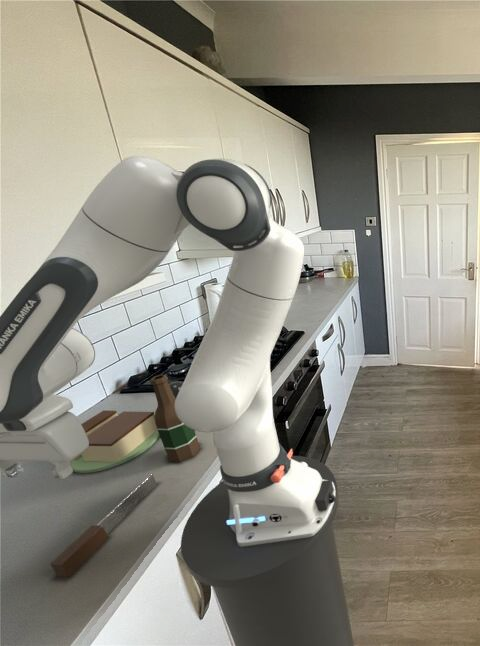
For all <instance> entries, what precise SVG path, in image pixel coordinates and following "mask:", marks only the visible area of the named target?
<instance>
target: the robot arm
mask: <svg viewBox="0 0 480 646" xmlns="http://www.w3.org/2000/svg"><path fill="white" fill-rule="evenodd" d="M271 206H272V194H271V190H270V187H269V185H268V183H267V180H265V178H264V177H263V176H262V174H260V173H259V172H258V171H257V170H256V169H255V168H253V167H252V166H250V165H249V164H248V165H247V164H245V163H244V162H240V161H238V160H235V159H232V158H223V157H221V158H211V159H204V160H199V161H197V162H195V163H193V164H191V165H190V166H188V167H187V169H185V170H184V171H183V172H181V171H180V170H178V169H175V168H174V167H172V166H171V165H169V164H167V163H165V162H163V161H161V160H158V159H156V158H153V157H150V156H144V155H132V156H127V157H125V158H123V159H122V160H121V161H119V162H118V163H117V164H116V165H115V166H114V167H113V168H112V169H111V170H110V171H108V172H107V174H105V176H103V178H102V179H101V180H100V181H99V183H97V185H96V186H95V187H94V189H93V190H92V191H91V193H90V194H89V195H88V196H87V198H86V200H85V201H84V203H83V204H82V206H81V208H80V209H79V211H78V212H77V214H76V215H75V217H74V219H73V220H72V221H71V223H70V225H69V226H68V228H67V230H66V231H65V232H64V234H63V235H62V237H61V238H60V240H59V241H58V243H57V244H56V246H55V247H54V248H53V250H52V251H51V252H50V254H48V256H47V257H46V259H45V260H44V261H43V262H42V264H41V265H40V267H39V268H38V269H37V270H36V271H35V273H34V274H33V275H32V276H31V278H29V280H28V281H27V282H26V283H25V284H24V286H23V287H22V288H21V289H20V290H19V292H18V293H17V294H16V295H15V297H13V299H12V300H11V301H10V303H9V305H8V306H7V307H6V308H5V309H4V311H3V312H2V313H1V314H0V472H1V473H2V474H3V476H4V477H5V478H17V477H19V476H20V475H21V474H23V473H24V472H25V468H24V467H23V465H22V463H19V462H50V463H51V465H54V466H55V468H54V469H53V470H52V471H51V474H52V475H53V476H54V478H55V479H63V480H64V479H67V478H68V477H69V476H70V475H72V474H73V472H74V471H73V470H72V468H71V466H70V464H71V460H73V459H74V458H76V457H77V456H79V455H80V454H81V453H83V452H84V451H85V450H86V449H87V448H88V445H89V440H88V438H87V435H86V433H85V431H84V428H83V426H82V423H81V421H80V419H79V418H78V416H77V415H76V414H74V413H73V412H71V410H72V409H73V408H74V404H73V402H72V400H71V399H70V398H68V397H66V396H63V395H58V394H56V393H57V392H59V390H61V389H63V388H64V387H66V386H67V385H68V384H70V382H72V381H74V380H75V379H76V378H78V377H79V376H80V375H82V374H83V373H85V372H86V371H87V370H88V369H89V368H90V367H91V366H92V365H93V363H94V362H95V358H96V349H95V347H94V345H93V343H92V341H91V339H90V338H89V337H88V336H87V335H85V334H84V333H83V332H81V331H80V330H78V329H76V328H74V326H75V325H76V324H77V323H79V321H80V320H81V319H82V318H83V317H85V315H87V314H89V312H91V311H92V310H93V309H96V308H97V307H98V306H100V305H101V304H103V303H104V302H106V301H108V300H110V299H111V298H113V297H116V296H117V295H119V294H121V293H123V292H124V291H126V290H129V289H130V288H132V287H134V286H135V285H138V284H140V283H141V282H143V281H144V280H145V279H146V278H147V277H148V276H150V274H152V273H153V272H154V271H155V270H156V269H157V268H158V267H159V266H160V265H161V264H162V263H163V261H164V260H165V259H166V257H167V256H168V255H169V253H170V252H171V250H172V249H173V247H174V246H175V244H176V243H177V241H178V239H179V238H180V236H181V235H182V234H183V233H184V231H186V229H187V228H189V227H190V226H193V227H194V228H195V229H196V230H198V231H199V232H201V233H202V234H203V235H206V236H207V237H209V238H211V239H213V240H214V241H216V242H217V243H219V244H220V245H222V246H223V247H225V248H226V249H228V250H229V251H232V252H233V254H232V255H233V256H232V259H231V262H230V263H231V264H230V266H229V269H228V272H227V276H226V277H225V278H226V279H225V281H224V285H223V286H222V287H223V288H222V291H221V293H220V297H219V300H218V303H217V307H216V309H215V312H214V315H213V317H212V320H211V322H210V324H209V326H208V328H207V330H206V332H205V334H204V336H203V337H202V340H201V342H200V345H199V347H198V348H197V351H196V353H195V355H194V357H193V359H192V362H191V364H190V367H189V369H188V372H187V374H186V376H185V378H184V380H183V382H184V383H183V385H182V387H181V389H180V391H179V393H178V395H177V398H176V400H175V412H176V414H177V416H178V418H179V419H180V420H181V422H182V423H184V424H185V425H186V426H188V427H189V428H191V429H194V430H195V432H196V431H197V432H201V433H212V440H213V444H214V448H215V450H216V453H217V456H218V461H219V463H220V466H219V471H220V475H221V480H222V481H223V482H224V485H225V487H226V488H227V489H228V494H229V502H230V515H229V520H227V525H230V527H231V529H232V530H233V531H234V532H235V533H236V538H237V544H238V546H240V547H244V546H251V545H258V544H265V543H272V542H279V541H286V540H293V539H300V538H307V537H312V536H313V535H315V534H316V533H317V532H318V531H319V530H320V529H321V528H322V526H323V525H324V523H325V522H326V520H327V518H328V517H329V515H330V512H331V510H332V507H333V504H334V501H335V495H336V490H335V486H334V483H333V482H332V481H328V480H323V479H322V477H321V475H320V474H319V472H318V471H317V470H315V469H313V468H310V467H308V465H307V464H306V463H305V462H297V461H295V460H293V459H291V456H293V454H294V451H293V448H290V450H289V451H288V453H287V451H286V450H285V448H284V447H283V445H281V443H280V442H279V438H278V434H277V429H276V424H275V419H274V408H273V388H272V387H273V385H272V375H271V355H272V353H273V350H274V348H275V346H276V343H277V341H278V339H279V337H280V334H281V331H282V329H283V326H284V324H285V321H286V318H287V316H288V313H289V311H290V308H291V305H292V303H293V299H294V297H295V295H296V291H297V288H298V286H299V281H300V278H301V274H302V269H303V265H304V258H305V245H304V243H303V241H302V239H301V238H300V237H299V235H297V234H296V233H295V232H294V231H293V230H291V229H290V228H288V227H286V226H283V225H281V224H279V223H278V222H276V221H275V220H274V219H273V217H272V215H271V211H270V210H271ZM319 522H320V523H319ZM317 523H318V524H317ZM250 538H251V539H250Z"/></svg>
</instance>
